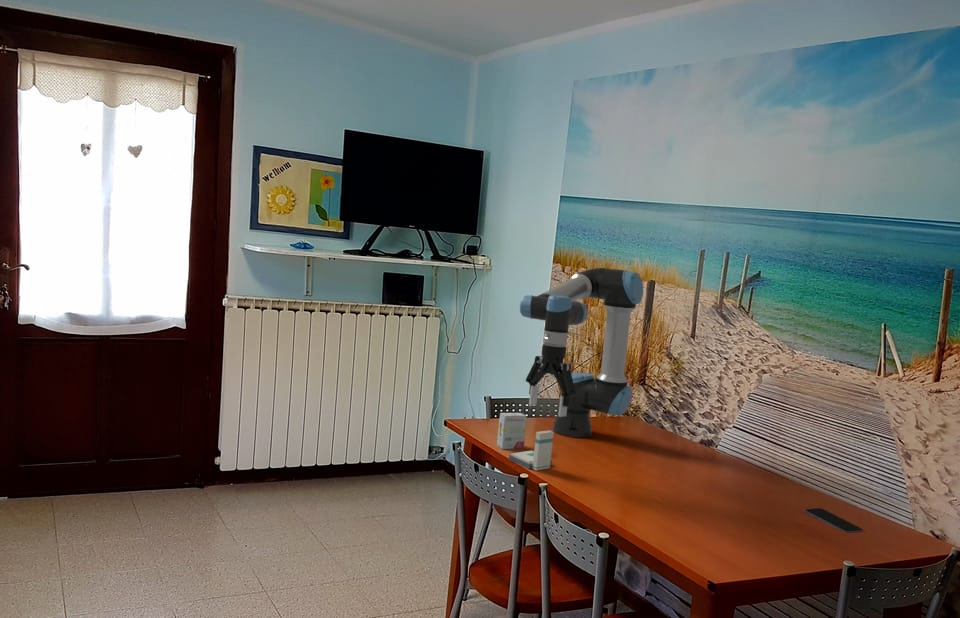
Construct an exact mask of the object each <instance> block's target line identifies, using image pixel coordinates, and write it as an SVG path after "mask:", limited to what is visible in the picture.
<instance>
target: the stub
mask: <svg viewBox="0 0 960 618" xmlns="http://www.w3.org/2000/svg"><path fill="white" fill-rule="evenodd" d="M554 433H555V432H554V431H553V430H543V431H536V432H535V438H534V439H535V441H534V449H533V451H534V457H533V466H532V469H531V470H534V471H541V470H547V469H548V470H549V469H550V468H551V466H550V461H551V460H552V451H553V443H554Z"/></svg>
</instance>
